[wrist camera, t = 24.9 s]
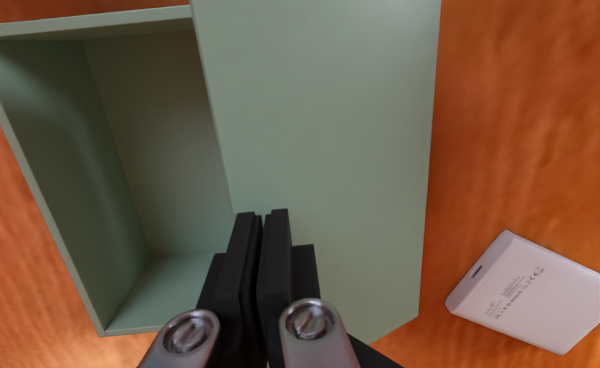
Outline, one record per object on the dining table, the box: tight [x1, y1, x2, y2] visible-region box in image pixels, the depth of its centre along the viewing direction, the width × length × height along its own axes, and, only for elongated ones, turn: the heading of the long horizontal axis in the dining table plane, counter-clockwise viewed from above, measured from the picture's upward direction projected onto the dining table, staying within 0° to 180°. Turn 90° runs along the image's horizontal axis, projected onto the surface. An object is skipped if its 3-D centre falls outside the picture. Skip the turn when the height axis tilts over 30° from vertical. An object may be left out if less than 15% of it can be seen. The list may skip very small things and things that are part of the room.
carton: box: [0, 5, 234, 337], centre depth 19 cm, size 16×18×8 cm
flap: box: [189, 0, 441, 368], centre depth 13 cm, size 16×9×1 cm, turn 5°
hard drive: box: [445, 230, 600, 355], centre depth 27 cm, size 2×8×12 cm
